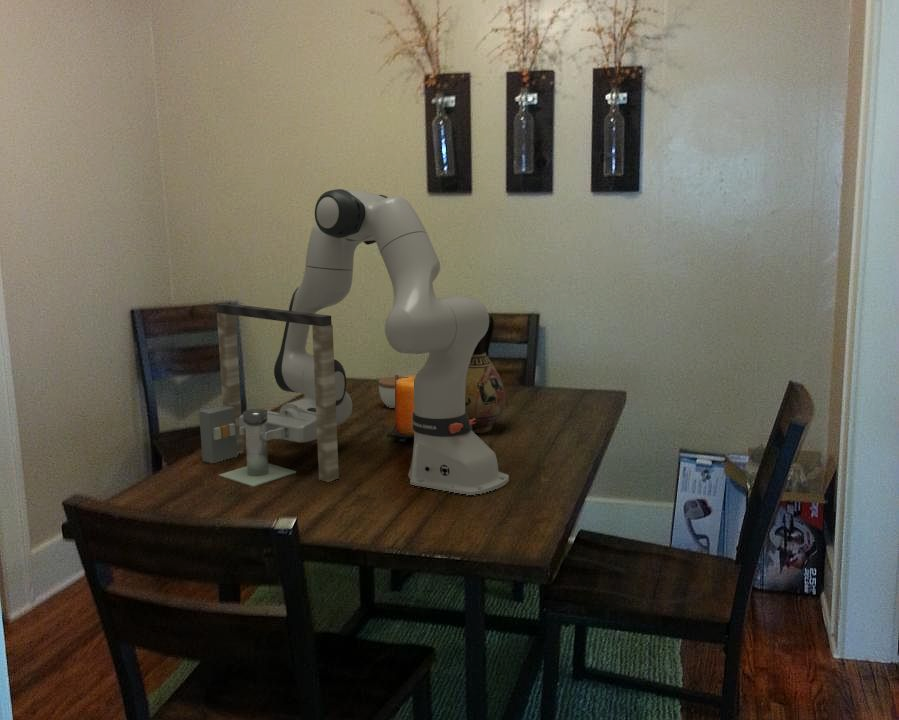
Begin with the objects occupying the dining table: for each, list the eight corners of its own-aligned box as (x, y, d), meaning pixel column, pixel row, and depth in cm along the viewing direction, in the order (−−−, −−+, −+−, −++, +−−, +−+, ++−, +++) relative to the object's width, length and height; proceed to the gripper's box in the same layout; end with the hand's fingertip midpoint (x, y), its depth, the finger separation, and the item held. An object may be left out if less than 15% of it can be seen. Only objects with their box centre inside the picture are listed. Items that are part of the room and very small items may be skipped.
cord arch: (338, 479, 193) (332, 315, 186) (328, 483, 191) (321, 317, 184) (236, 450, 215) (226, 303, 208) (225, 453, 213) (216, 304, 206)
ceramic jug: (482, 440, 220) (482, 321, 215) (434, 431, 230) (431, 316, 224) (520, 425, 234) (520, 313, 228) (472, 417, 243) (471, 308, 237)
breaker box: (239, 457, 210) (236, 408, 208) (214, 464, 205) (211, 414, 202) (227, 453, 213) (224, 405, 211) (202, 460, 208) (199, 411, 205)
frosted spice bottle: (274, 472, 197) (272, 411, 195) (256, 478, 194) (253, 415, 191) (259, 467, 201) (257, 407, 198) (241, 473, 197) (238, 412, 194)
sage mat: (296, 472, 198) (296, 471, 198) (253, 486, 189) (253, 485, 189) (262, 462, 205) (262, 461, 205) (219, 475, 196) (218, 474, 196)
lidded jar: (393, 413, 249) (392, 380, 247) (371, 406, 257) (370, 374, 255) (423, 406, 255) (423, 375, 254) (401, 400, 264) (400, 369, 262)
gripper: (264, 401, 211) (219, 414, 200) (328, 412, 200) (284, 426, 188) (266, 427, 212) (221, 441, 201) (330, 439, 201) (286, 455, 190)
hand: (252, 434), depth 195 cm, fingers open, 5 cm apart
